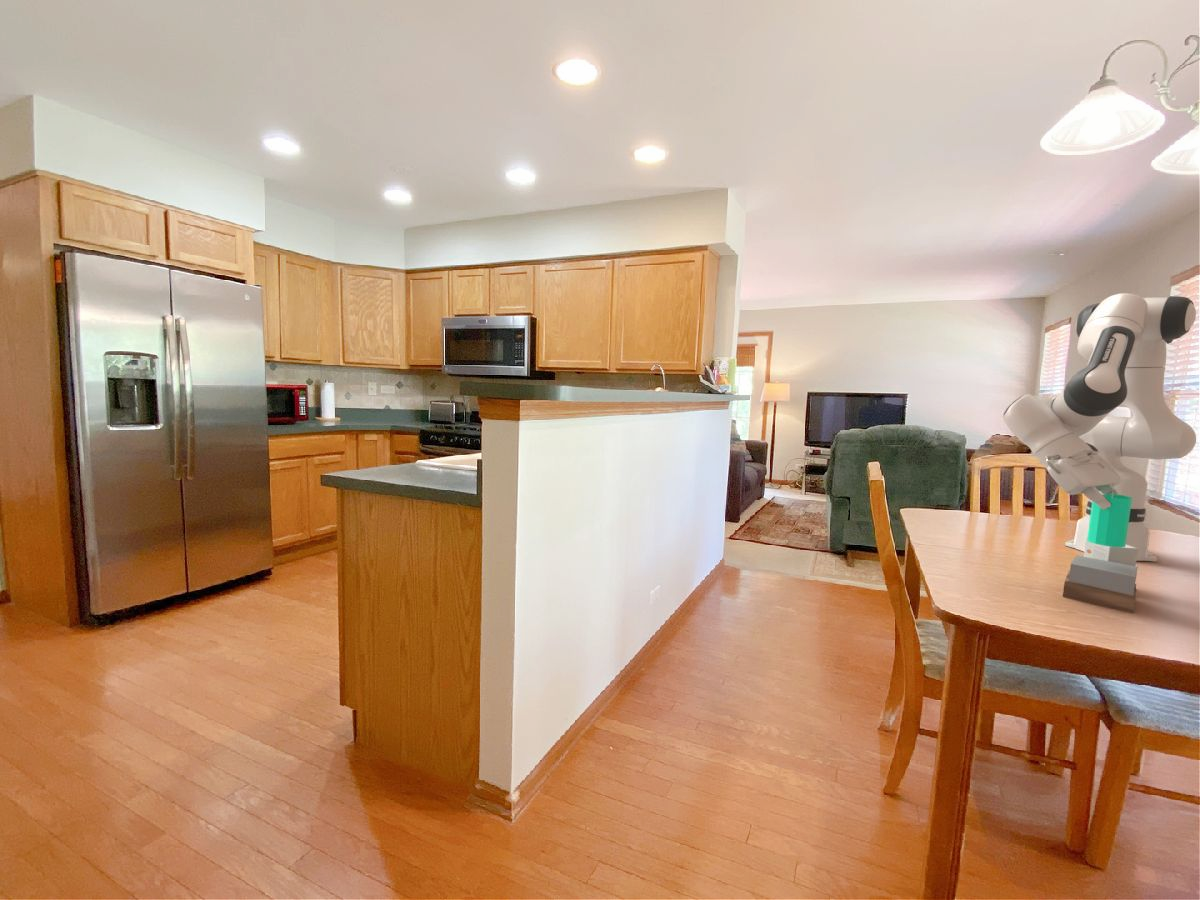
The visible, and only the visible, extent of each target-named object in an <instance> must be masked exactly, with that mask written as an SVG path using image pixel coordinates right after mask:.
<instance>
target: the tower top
mask: <svg viewBox="0 0 1200 900" xmlns="http://www.w3.org/2000/svg"><path fill="white" fill-rule="evenodd" d="M1069 570H1070V574H1069V582H1073V583H1078V584H1082V585H1087V586H1091V587H1096V588H1100V589H1105V590H1109V591H1114V592H1119V593H1123V594H1128V595H1132V596H1133V593H1134V588H1135V584H1136V580H1137V575H1138V570H1139V569H1138V566H1137V565H1136V566H1130V565H1125V564H1120V563H1115V562H1109V561H1104V560H1099V559H1094V558H1089V557H1084V555H1077V554H1076V555H1075V556H1074V558H1073V560H1072V561H1071V563H1070V569H1069Z"/></svg>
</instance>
